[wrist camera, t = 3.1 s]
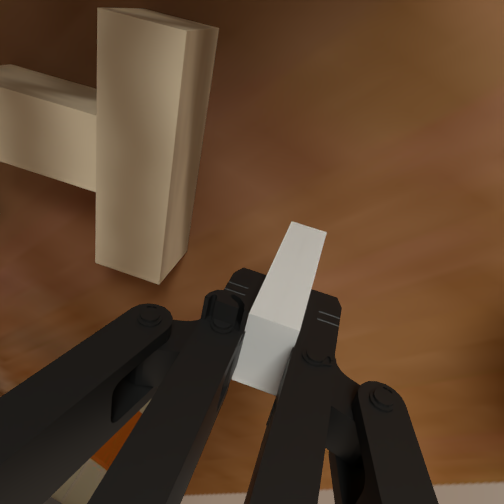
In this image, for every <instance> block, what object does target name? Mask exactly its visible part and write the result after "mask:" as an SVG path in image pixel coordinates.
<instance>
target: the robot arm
mask: <svg viewBox="0 0 504 504" xmlns="http://www.w3.org/2000/svg"><path fill="white" fill-rule="evenodd" d="M326 233H327V232H324V231H321V230H318V229H314V228H311V227H308V226H305V225H302V224H299V223H295V222H291V224H290V226H289V228H288V231H287V233H286V235H285V237H284V239H283V241H282V243H281V246H280V248H279V250H278V252H277V254H276V256H275V259H274V261H273V263H272V265H271V267H270V269H269V271H268V274H267V275H264V274H261V273H258V272H255V271H252V270H249V269H246V268H242V269H240V270H238V271H236V272H235V273H234V274H233V275H232V277H231V279H230V280H229V283H228V284H227V285H226V287H225V289H224V290H215V291H212V292H210V293H208V294H207V295H206V296H205V300H204V305H203V310H202V315H201V319H200V320H196V321H179V320H172V319H173V318H172V315H171V313H170V312H169V311H168V310H167V309H166V308H164V307H162V306H159V305H157V304H141V305H138V306H135V307H133V308H131V309H130V310H128V311H127V312H125V313H124V314H122V315H121V316H120V317H118V318H117V319H115V320H114V321H112V322H111V323H109V324H108V325H106V326H105V327H103V328H102V329H100V330H99V331H97V332H96V333H94V334H93V335H92V336H90V337H89V338H87V339H86V340H84V341H83V342H81V343H80V344H78V345H77V346H75V347H74V348H72V349H71V350H69V351H68V352H66V353H65V354H63V355H62V356H61V357H59V358H58V359H56V360H55V361H53V362H52V363H50V364H49V365H47V366H46V367H44V368H43V369H41V370H40V371H38V372H37V373H35V374H34V375H33V376H31V377H30V378H28V379H27V380H25V381H24V382H22V383H21V384H19V385H18V386H16V387H15V388H13V389H12V390H10V391H9V392H7V393H6V394H5V395H3V396H2V397H0V504H43V503H44V502H46V501H47V500H48V499H49V498H50V497H51V496H52V495H53V494H54V493H55V492H56V491H57V490H58V489H59V488H60V487H61V486H62V485H63V484H64V483H65V482H66V481H67V480H68V479H69V478H70V477H71V476H72V475H73V474H74V473H75V472H76V471H77V470H78V469H80V468H81V467H82V466H83V465H84V464H85V463H86V462H87V461H88V460H89V459H90V458H91V457H92V456H93V455H94V454H95V453H96V452H97V451H98V450H99V449H100V448H101V447H102V446H103V445H104V444H105V443H106V442H107V441H108V440H109V439H110V438H111V437H112V436H114V435H115V434H116V433H117V432H118V431H119V430H120V429H121V428H122V427H123V426H124V425H125V424H126V423H127V422H128V421H129V420H130V419H131V418H132V417H133V416H134V415H135V414H136V413H137V412H138V411H139V410H140V409H141V408H142V407H143V406H144V405H145V404H146V403H148V402H149V401H150V402H149V404H148V405H147V407H146V408H145V410H144V412H143V413H142V415H141V417H140V418H139V420H138V421H137V423H136V425H135V426H134V428H133V430H132V431H131V433H130V434H129V436H128V438H127V439H126V441H125V443H124V444H123V446H122V448H121V449H120V451H119V452H118V454H117V456H116V457H115V459H114V461H113V462H112V464H111V465H110V467H109V469H108V470H107V472H106V474H105V475H104V477H103V478H102V480H101V482H100V483H99V485H98V487H97V488H96V490H95V491H94V493H93V495H92V496H91V498H90V500H89V501H88V503H87V504H180V503H181V501H182V498H183V496H184V494H185V491H186V489H187V487H188V484H189V482H190V479H191V477H192V475H193V472H194V470H195V467H196V465H197V463H198V460H199V458H200V456H201V453H202V451H203V448H204V446H205V444H206V441H207V439H208V437H209V434H210V432H211V429H212V427H213V425H214V422H215V420H216V418H217V415H218V413H219V410H220V408H221V406H222V403H223V401H224V398H225V396H226V394H227V391H228V387H229V383H230V380H231V378H232V380H235V381H237V382H240V383H243V384H245V385H248V386H251V387H254V388H256V389H259V390H262V391H264V392H267V393H270V394H273V395H275V396H276V399H275V401H274V404H273V407H272V410H271V413H270V416H269V418H268V421H267V424H266V425H267V427H266V430H265V434H264V437H263V441H262V444H261V448H260V451H259V454H258V458H257V461H256V465H255V468H254V471H253V475H252V478H251V482H250V485H249V488H248V492H247V496H246V499H245V502H244V504H317V503H318V496H319V489H320V482H321V475H322V468H323V461H324V453H325V448H327V449H328V450H329V461H330V469H331V477H332V484H333V492H334V500H335V504H438V501H437V498H436V495H435V492H434V489H433V486H432V483H431V480H430V477H429V474H428V471H427V468H426V465H425V462H424V459H423V456H422V453H421V450H420V447H419V444H418V441H417V438H416V435H415V432H414V429H413V426H412V423H411V420H410V417H409V414H408V411H407V408H406V405H405V403H404V401H403V399H402V397H401V396H400V395H399V394H398V393H397V392H396V391H395V390H394V389H392V388H391V387H389V386H387V385H386V384H383V383H380V382H377V381H368V382H365V383H363V384H362V385H359V384H357V383H356V382H354V381H353V380H351V379H350V378H348V377H347V376H346V375H345V374H344V373H343V372H342V371H341V370H340V369H339V367H338V366H337V364H336V359H335V349H336V343H337V336H338V329H339V322H340V315H341V309H342V308H341V306H340V303H339V301H338V299H337V298H336V297H333V296H330V295H327V294H324V293H321V292H318V291H315V290H312V289H311V288H312V285H313V281H314V277H315V274H316V270H317V266H318V263H319V259H320V255H321V252H322V248H323V244H324V241H325V237H326ZM232 375H233V376H232Z"/></svg>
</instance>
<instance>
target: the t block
mask: <svg viewBox="0 0 504 504" xmlns="http://www.w3.org/2000/svg"><path fill="white" fill-rule="evenodd" d="M218 33H219V28H217V27H213V26H209V25H205V24H201V23H198V22H194V21H190V20H186V19H182V18H178V17H174V16H171V15H167V14H163V13H159V12H155V11H151V10H147V9H144V8H97V89H95V88H92V87H88V86H85V85H81V84H78V83H74V82H71V81H68V80H64V79H61V78H57V77H54V76H50V75H47V74H43V73H40V72H36V71H33V70H29V69H26V68H23V67H19V66H16V65H12V64H8V65H0V162H3V163H7V164H10V165H13V166H16V167H19V168H22V169H25V170H28V171H31V172H35V173H38V174H41V175H44V176H47V177H50V178H53V179H56V180H59V181H62V182H66V183H69V184H72V185H75V186H78V187H81V188H84V189H87V190H90V191H93V192H96V241H95V263H97V264H100V265H103V266H106V267H109V268H112V269H115V270H118V271H121V272H124V273H126V274H129V275H132V276H135V277H138V278H141V279H144V280H147V281H150V282H153V283H155V284H158V285H159V284H160V283H161V282H162V281H163V280H164V278H165V277H166V276H167V275H168V273H169V272H170V271H171V270H172V269H173V267H174V266H175V265H176V264H177V263H178V261H179V260H180V259H181V258H182V257H183V255H184V254H185V253H186V252H187V247H188V240H189V233H190V227H191V220H192V213H193V206H194V199H195V192H196V185H197V178H198V171H199V164H200V158H201V151H202V144H203V137H204V130H205V123H206V116H207V109H208V102H209V95H210V88H211V82H212V75H213V68H214V61H215V54H216V47H217V40H218Z"/></svg>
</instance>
